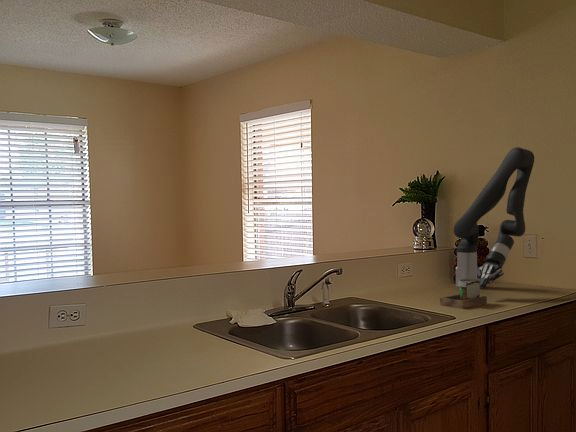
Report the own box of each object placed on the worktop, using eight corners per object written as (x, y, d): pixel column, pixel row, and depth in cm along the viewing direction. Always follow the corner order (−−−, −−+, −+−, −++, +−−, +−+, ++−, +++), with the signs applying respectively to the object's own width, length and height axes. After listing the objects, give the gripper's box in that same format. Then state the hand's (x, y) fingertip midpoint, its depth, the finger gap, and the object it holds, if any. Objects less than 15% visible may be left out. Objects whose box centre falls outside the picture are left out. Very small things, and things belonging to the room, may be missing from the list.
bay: (440, 305, 219) (439, 297, 219) (463, 300, 229) (463, 293, 229) (463, 309, 211) (463, 301, 210) (486, 303, 220) (486, 296, 220)
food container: (467, 300, 227) (467, 277, 227) (481, 302, 222) (480, 278, 222) (452, 305, 219) (451, 280, 218) (466, 307, 214) (465, 282, 214)
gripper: (480, 249, 239) (464, 279, 232) (507, 251, 228) (491, 282, 221) (488, 260, 242) (471, 290, 235) (515, 262, 231) (498, 294, 224)
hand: (481, 286), depth 228 cm, fingers closed
